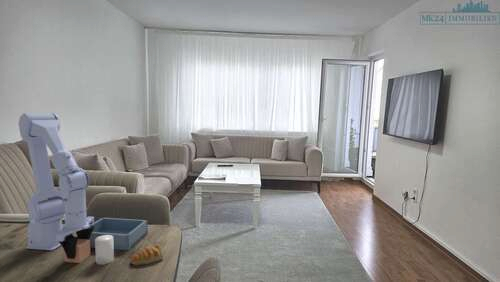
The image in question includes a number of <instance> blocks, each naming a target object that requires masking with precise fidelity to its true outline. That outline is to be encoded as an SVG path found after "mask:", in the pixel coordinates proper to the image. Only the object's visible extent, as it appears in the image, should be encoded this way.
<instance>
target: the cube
mask: <svg viewBox="0 0 500 282" xmlns="http://www.w3.org/2000/svg"><path fill="white" fill-rule="evenodd" d="M90 256H91V247H90V240H87V239H78V241H77V245H76V256H75V258H74V259H68V258H67V256H66V253H65V251H64V250H63V258H64V263H76V264H80V263H82V262H83V261H85V259H87V258H89V257H90Z"/></svg>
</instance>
